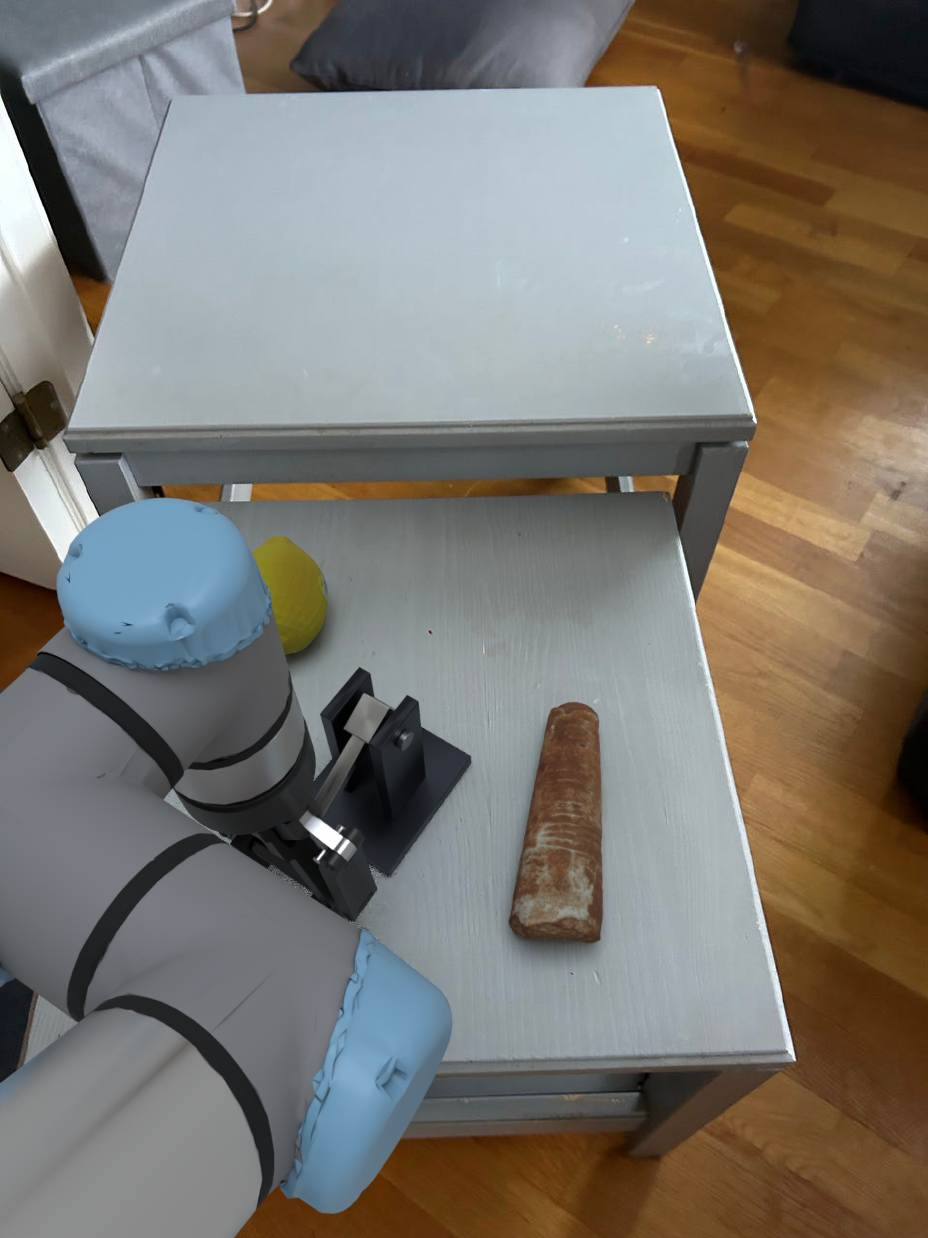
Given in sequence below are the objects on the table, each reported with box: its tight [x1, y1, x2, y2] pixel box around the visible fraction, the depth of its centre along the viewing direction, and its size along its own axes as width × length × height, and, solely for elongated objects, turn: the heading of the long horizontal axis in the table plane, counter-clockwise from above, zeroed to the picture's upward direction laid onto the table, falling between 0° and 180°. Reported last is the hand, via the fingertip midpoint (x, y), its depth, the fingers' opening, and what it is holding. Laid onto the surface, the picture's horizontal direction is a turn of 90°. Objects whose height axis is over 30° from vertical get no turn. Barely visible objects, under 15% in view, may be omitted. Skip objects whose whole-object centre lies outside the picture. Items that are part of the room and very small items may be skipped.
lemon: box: [251, 535, 329, 656], centre depth 79 cm, size 11×8×8 cm
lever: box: [249, 693, 396, 894], centre depth 64 cm, size 13×6×2 cm, turn 147°
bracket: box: [311, 666, 472, 877], centre depth 68 cm, size 11×9×13 cm
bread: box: [508, 701, 604, 944], centre depth 69 cm, size 6×19×6 cm, turn 169°
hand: (301, 889), depth 68 cm, fingers closed on lever, 6 cm apart
